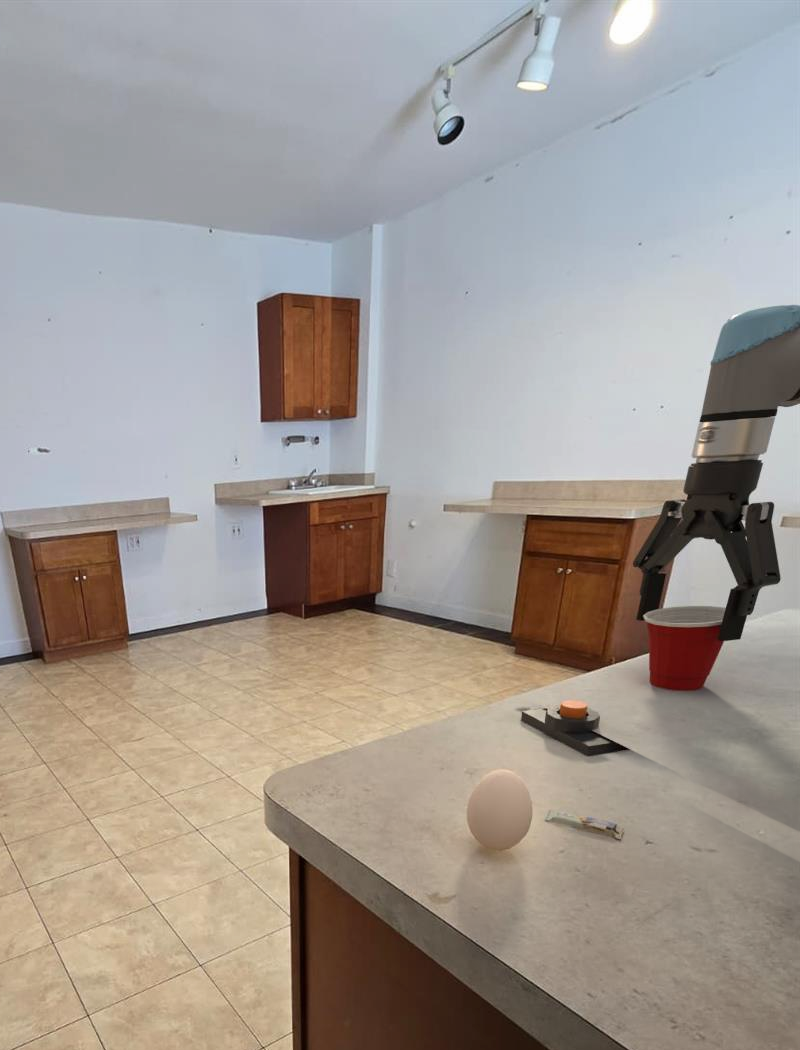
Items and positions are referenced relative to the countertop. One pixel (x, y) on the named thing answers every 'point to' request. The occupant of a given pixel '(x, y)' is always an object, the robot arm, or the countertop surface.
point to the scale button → (573, 709)
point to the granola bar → (586, 823)
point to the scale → (572, 730)
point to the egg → (499, 810)
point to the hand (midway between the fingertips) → (684, 629)
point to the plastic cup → (683, 645)
